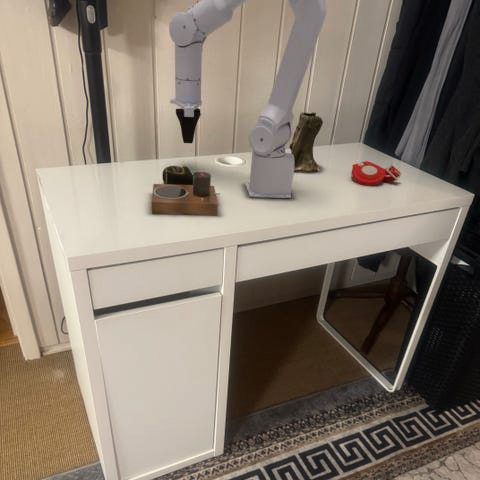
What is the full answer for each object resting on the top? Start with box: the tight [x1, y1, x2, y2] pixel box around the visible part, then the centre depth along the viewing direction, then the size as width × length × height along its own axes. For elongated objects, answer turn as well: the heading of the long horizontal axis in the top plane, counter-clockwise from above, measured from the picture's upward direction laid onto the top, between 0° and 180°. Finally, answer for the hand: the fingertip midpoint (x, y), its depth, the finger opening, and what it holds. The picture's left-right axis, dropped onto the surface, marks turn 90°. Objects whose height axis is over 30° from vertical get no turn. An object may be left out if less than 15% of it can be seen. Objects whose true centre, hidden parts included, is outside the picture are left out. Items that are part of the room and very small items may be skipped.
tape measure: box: [161, 165, 193, 185], centre depth 105 cm, size 7×7×4 cm
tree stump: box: [289, 111, 324, 172], centre depth 120 cm, size 10×10×13 cm
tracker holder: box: [351, 160, 403, 186], centre depth 119 cm, size 12×4×10 cm
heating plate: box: [154, 186, 188, 199], centre depth 95 cm, size 7×7×1 cm
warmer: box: [151, 183, 221, 216], centre depth 96 cm, size 14×10×3 cm
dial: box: [192, 171, 212, 197], centre depth 95 cm, size 4×4×4 cm
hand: (187, 142), depth 110 cm, fingers closed
